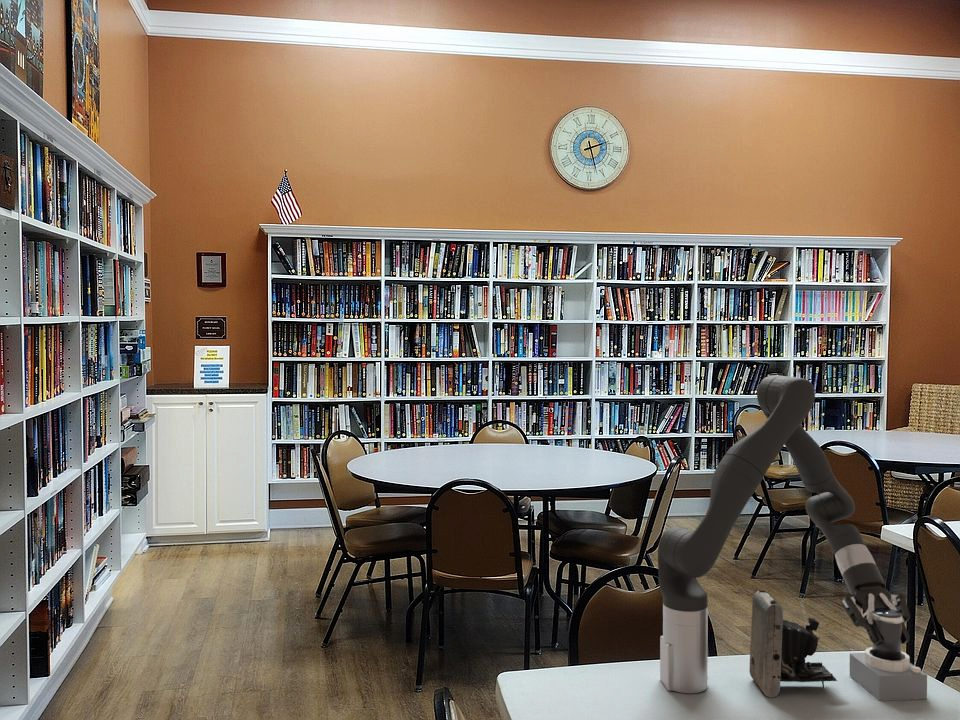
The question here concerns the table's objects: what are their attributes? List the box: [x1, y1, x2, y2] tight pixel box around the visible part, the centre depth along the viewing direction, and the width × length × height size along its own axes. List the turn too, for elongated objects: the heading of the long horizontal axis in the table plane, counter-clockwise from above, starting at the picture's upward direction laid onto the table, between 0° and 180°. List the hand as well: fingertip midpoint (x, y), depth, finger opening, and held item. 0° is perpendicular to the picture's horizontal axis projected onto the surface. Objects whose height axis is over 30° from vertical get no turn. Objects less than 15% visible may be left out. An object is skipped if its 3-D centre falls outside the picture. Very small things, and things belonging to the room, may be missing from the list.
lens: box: [871, 608, 903, 661], centre depth 172 cm, size 6×6×10 cm
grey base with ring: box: [849, 646, 928, 701], centre depth 173 cm, size 10×12×7 cm
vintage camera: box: [749, 589, 838, 698], centre depth 172 cm, size 10×16×20 cm, turn 89°
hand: (892, 642), depth 171 cm, fingers closed on lens, 5 cm apart
